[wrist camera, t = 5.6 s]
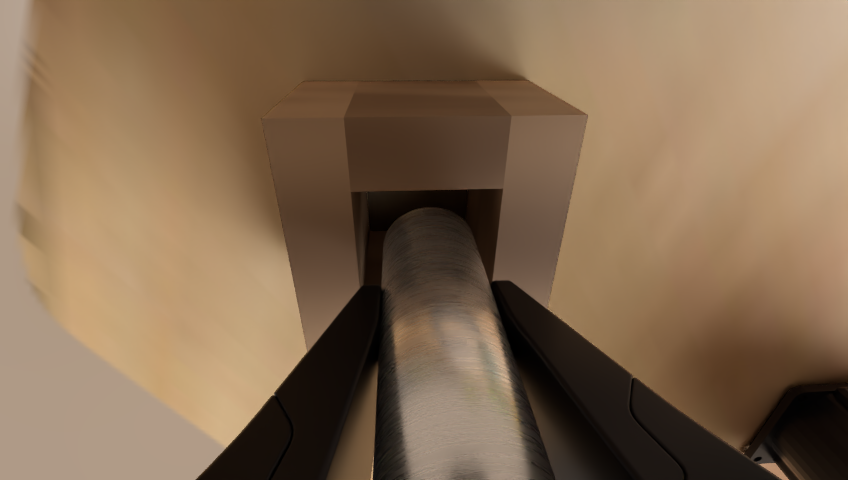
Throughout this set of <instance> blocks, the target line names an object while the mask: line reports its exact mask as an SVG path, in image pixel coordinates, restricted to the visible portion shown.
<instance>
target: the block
mask: <svg viewBox="0 0 848 480" xmlns="http://www.w3.org/2000/svg"><path fill="white" fill-rule="evenodd" d="M587 118H588V115H587V114H585V113H584V112H582V111H580V110H579V109H577V108H575V107H573V106H572V105H570V104H568V103H567V102H565V101H563V100H561V99H560V98H558V97H556V96H554V95H553V94H551V93H549V92H548V91H546V90H544V89H542V88H541V87H539V86H537V85H536V84H534V83H532V82H530V81H529V80H506V81H303V82H302V83H300V84H299V85H298V86H297V87H296V88H295V89H294V90H293V91H292V92H290V93H289V94H288V95H287V96H286V97H285V98H284V99H283V100H281V101H280V102H279V103H278V104H277V105H276V106H275V107H274V108H272V109H271V110H270V111H269V112H268V113H267V114H266V115H265V116H263V117H262V118H261V119H262V124H263V129H264V134H265V140H266V145H267V150H268V155H269V160H270V165H271V170H272V175H273V180H274V185H275V190H276V195H277V200H278V205H279V210H280V216H281V221H282V226H283V231H284V236H285V241H286V246H287V251H288V256H289V261H290V266H291V271H292V276H293V281H294V287H295V292H296V297H297V302H298V307H299V312H300V317H301V322H302V327H303V332H304V337H305V342H306V347H307V352H308V351H309V350H310V348H311V347H312V346H313V345H314V343H315V342H316V341H317V340H318V339H319V337H320V336H321V335H322V334H323V332H324V331H325V330H326V329H327V327H328V326H329V325H330V324H331V323H332V321H333V320H334V319H335V318H336V316H337V315H338V314H339V313H340V312H341V310H342V309H343V308H344V307H345V305H346V304H347V303H348V302H349V300H350V299H351V298H352V297H353V296H354V294H355V293H356V292H357V291H358V289H359V288H360V287H361V286H363V285H380V286H381V285H382V262H383V243H384V238H385V235H386V233H387V231H370V227H369V213H368V199H367V191H410V190H458V189H468V195H467V210H466V223H467V224H468V225H469V227H470V229H471V231H472V233H473V236H474V239H475V242H476V245H477V248H478V251H479V254H480V257H481V260H482V263H483V266H484V269H485V272H486V275H487V278H488V281H489V284H490V285H491V282H492V281H496V280H510V281H512V282H513V283H514V284H516V285H517V286H518V287H520V288H521V289H522V290H523V291H525V292H526V293H527V294H529V295H530V296H531V297H532V298H534V299H535V300H536V301H538V302H539V303H540V304H541V305H543V306H544V307H545V308H548V303H549V298H550V294H551V289H552V284H553V279H554V275H555V270H556V265H557V260H558V256H559V251H560V246H561V241H562V237H563V232H564V227H565V222H566V218H567V213H568V208H569V203H570V199H571V194H572V189H573V184H574V180H575V175H576V170H577V165H578V161H579V156H580V151H581V146H582V142H583V137H584V132H585V127H586V123H587Z"/></svg>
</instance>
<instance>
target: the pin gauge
mask: <svg viewBox="0 0 848 480" xmlns="http://www.w3.org/2000/svg"><path fill="white" fill-rule="evenodd" d="M381 290H382V294H381V318H380V338H379V353H378V375H377V398H376V420H375V443H374V465H373V480H556V479H555V476H554V473H553V470H552V467H551V464H550V461H549V458H548V455H547V452H546V449H545V446H544V443H543V441H542V438H541V435H540V432H539V429H538V426H537V423H536V420H535V417H534V414H533V411H532V408H531V405H530V402H529V399H528V396H527V393H526V390H525V387H524V384H523V381H522V378H521V375H520V372H519V369H518V367H517V364H516V361H515V358H514V355H513V352H512V349H511V346H510V343H509V340H508V337H507V334H506V331H505V328H504V325H503V322H502V319H501V316H500V313H499V310H498V307H497V304H496V301H495V298H494V296H493V293H492V290H491V287H490V284H489V281H488V278H487V275H486V272H485V269H484V266H483V263H482V260H481V257H480V254H479V251H478V248H477V245H476V242H475V239H474V236H473V233H472V231H471V229H470V227H469V225H468V224H467V223H466V222H465V220H464V219H463V218H461V217H460V216H459V215H457V214H456V213H454V212H452V211H450V210H447V209H443V208H438V207H423V208H418V209H415V210H412V211H409V212H407V213H405V214H404V215H402V216H400V217H399V218H398V219H397V220H396V221H395V222H394V223H393V224H392V225H391V226H390V228H389V229H388V231H387V233H386V235H385V238H384V243H383V262H382V285H381Z"/></svg>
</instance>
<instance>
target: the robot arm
mask: <svg viewBox="0 0 848 480" xmlns="http://www.w3.org/2000/svg"><path fill="white" fill-rule="evenodd" d="M490 287H491V290H492V293H493V296H494V298H495V301H496V304H497V307H498V310H499V313H500V316H501V319H502V322H503V325H504V328H505V331H506V334H507V337H508V340H509V343H510V346H511V349H512V352H513V355H514V358H515V361H516V364H517V367H518V369H519V372H520V375H521V378H522V381H523V384H524V387H525V390H526V393H527V396H528V399H529V402H530V405H531V408H532V411H533V414H534V417H535V420H536V423H537V426H538V429H539V432H540V435H541V438H542V441H543V443H544V446H545V449H546V452H547V455H548V458H549V461H550V464H551V467H552V470H553V473H554V476H555V479H556V480H782V479H780V478H779V477H777V476H776V475H774V474H773V473H771V472H770V471H768V470H767V469H765V468H764V467H762V466H761V465H759V464H762V463H776V464H777V465H778V467H779V468H780V469H781V470H782V471H783V473H784V474H785V475H786V476H787V477H788V479H789V480H848V383H845V384H826V385H808V386H797V387H794V388H792V389H791V390H789V391H788V392H787V394H786V395H785V397H784V398H783V399H782V401H781V402H780V404H779V405H778V406H777V408H776V409H775V411H774V412H773V414H772V415H771V416H770V418H769V419H768V421H767V422H766V424H765V425H764V426H763V428H762V429H761V431H760V432H759V434H758V435H757V436H756V438H755V439H754V441H753V442H752V444H751V445H750V446H749V448H748V449H747V451H746V452H745V454H743V453H741V452H740V451H738V450H737V449H735V448H734V447H732V446H731V445H729V444H728V443H726V442H725V441H723V440H722V439H720V438H719V437H717V436H716V435H714V434H713V433H711V432H710V431H708V430H707V429H705V428H704V427H703V426H701V425H700V424H698V423H697V422H695V421H694V420H692V419H691V418H690V417H688V416H687V415H685V414H684V413H682V412H681V411H680V410H678V409H677V408H675V407H674V406H673V405H671V404H670V403H669V402H667V401H666V400H665V399H663V398H662V397H661V396H659V395H658V394H657V393H655V392H654V391H653V390H651V389H650V388H649V387H647V386H646V385H645V384H644V383H642V382H641V381H640V380H638V379H637V378H633V376H632V374H630V373H629V372H628V371H627V370H625V369H624V368H623V367H621V366H620V365H619V364H618V363H616V362H615V361H614V360H612V359H611V358H610V357H609V356H607V355H606V354H605V353H603V352H602V351H601V350H599V349H598V348H597V347H596V346H594V345H593V344H592V343H590V342H589V341H588V340H587V339H585V338H584V337H583V336H581V335H580V334H579V333H578V332H576V331H575V330H574V329H572V328H571V327H570V326H569V325H567V324H566V323H565V322H563V321H562V320H561V319H560V318H558V317H557V316H556V315H554V314H553V313H552V312H550V311H549V310H548V309H547V308H545V307H544V306H543V305H541V304H540V303H539V302H538V301H536V300H535V299H534V298H532V297H531V296H530V295H529V294H527V293H526V292H525V291H523V290H522V289H521V288H520V287H518V286H517V285H516V284H514V283H513V282H512V281H510V280H496V281H492V282H491V285H490ZM381 294H382V290H381V286H380V285H363V286H361V287H360V288H359V289H358V291H357V292H356V293H355V294H354V296H353V297H352V298H351V299H350V300H349V302H348V303H347V304H346V305H345V307H344V308H343V309H342V310H341V312H340V313H339V314H338V315H337V316H336V318H335V319H334V320H333V321H332V323H331V324H330V325H329V326H328V327H327V329H326V330H325V331H324V332H323V334H322V335H321V336H320V337H319V339H318V340H317V341H316V342H315V343H314V345H313V346H312V347H311V348H310V350H309V351H308V352H307V353H306V354H305V356H304V357H303V358H302V359H301V361H300V362H299V363H298V364H297V366H296V367H295V368H294V369H293V370H292V372H291V373H290V374H289V375H288V377H287V378H286V379H285V380H284V381H283V383H282V384H281V385H280V386H279V388H278V389H277V390H276V391H275V393H274V395H275V396H274V395H273V396H271V397H270V398H269V400H268V401H267V402H266V403H265V405H264V406H263V407H262V408H261V409H260V411H259V412H258V413H257V414H256V415H255V416H254V418H253V419H252V420H251V421H250V422H249V423H248V425H247V426H246V427H245V428H244V429H243V430H242V432H241V433H240V434H239V435H238V436H237V437H236V438H235V439H234V440H233V441H232V443H231V444H230V445H229V446H228V447H227V448H226V449H225V450H224V451H223V452H222V453H221V454H220V455H219V456H218V457H217V458H216V459H215V460H214V461H213V463H212V464H211V465H210V466H209V467H208V468H207V469H206V470H205V471H204V472H203V473H202V474H201V475H200V476H199V477H198V478H197V479H196V480H370V478H371V471H372V463H373V456H374V443H375V420H376V398H377V375H378V353H379V338H380V318H381Z"/></svg>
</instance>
